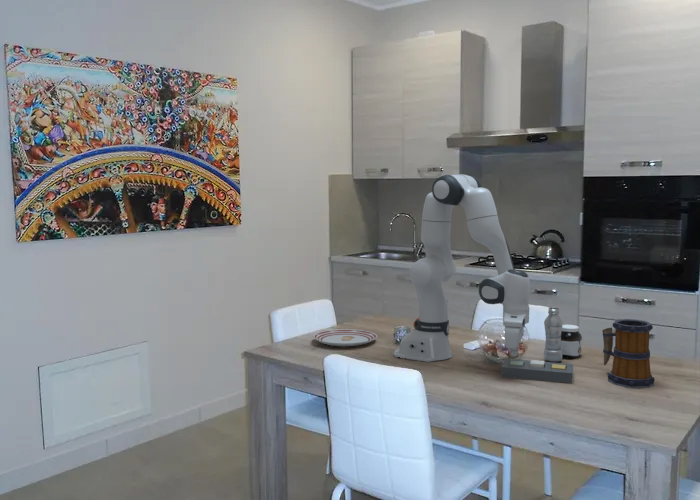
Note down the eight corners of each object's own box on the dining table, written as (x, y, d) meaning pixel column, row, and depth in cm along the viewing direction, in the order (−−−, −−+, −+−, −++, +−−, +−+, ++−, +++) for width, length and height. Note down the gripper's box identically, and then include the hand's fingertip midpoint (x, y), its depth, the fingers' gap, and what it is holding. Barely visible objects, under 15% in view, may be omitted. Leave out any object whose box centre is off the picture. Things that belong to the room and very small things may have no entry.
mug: (587, 374, 217) (588, 317, 215) (618, 369, 223) (619, 313, 221) (632, 391, 199) (633, 329, 197) (664, 384, 205) (667, 324, 203)
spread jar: (571, 360, 234) (571, 330, 233) (544, 355, 243) (544, 325, 242) (587, 354, 242) (588, 325, 241) (560, 349, 251) (561, 320, 249)
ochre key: (551, 373, 213) (551, 367, 213) (552, 369, 217) (552, 364, 217) (565, 374, 212) (565, 368, 211) (565, 370, 216) (565, 365, 215)
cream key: (530, 369, 216) (530, 363, 215) (531, 365, 220) (531, 359, 219) (543, 370, 214) (543, 364, 214) (544, 366, 218) (544, 361, 218)
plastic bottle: (563, 364, 230) (564, 310, 228) (544, 363, 231) (545, 310, 229) (561, 359, 236) (562, 307, 234) (542, 358, 237) (543, 306, 235)
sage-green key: (509, 369, 218) (509, 364, 218) (510, 366, 222) (510, 360, 222) (522, 370, 217) (522, 365, 216) (523, 367, 221) (523, 361, 220)
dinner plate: (338, 332, 287) (338, 325, 287) (389, 340, 271) (389, 332, 271) (300, 345, 265) (299, 337, 265) (352, 354, 249) (352, 346, 249)
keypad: (501, 376, 216) (501, 366, 216) (505, 368, 226) (505, 358, 226) (571, 383, 208) (572, 373, 207) (573, 374, 218) (573, 364, 218)
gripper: (510, 310, 228) (509, 347, 230) (502, 322, 210) (500, 362, 211) (528, 311, 226) (527, 348, 228) (521, 323, 207) (520, 364, 209)
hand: (514, 355), depth 219 cm, fingers closed
